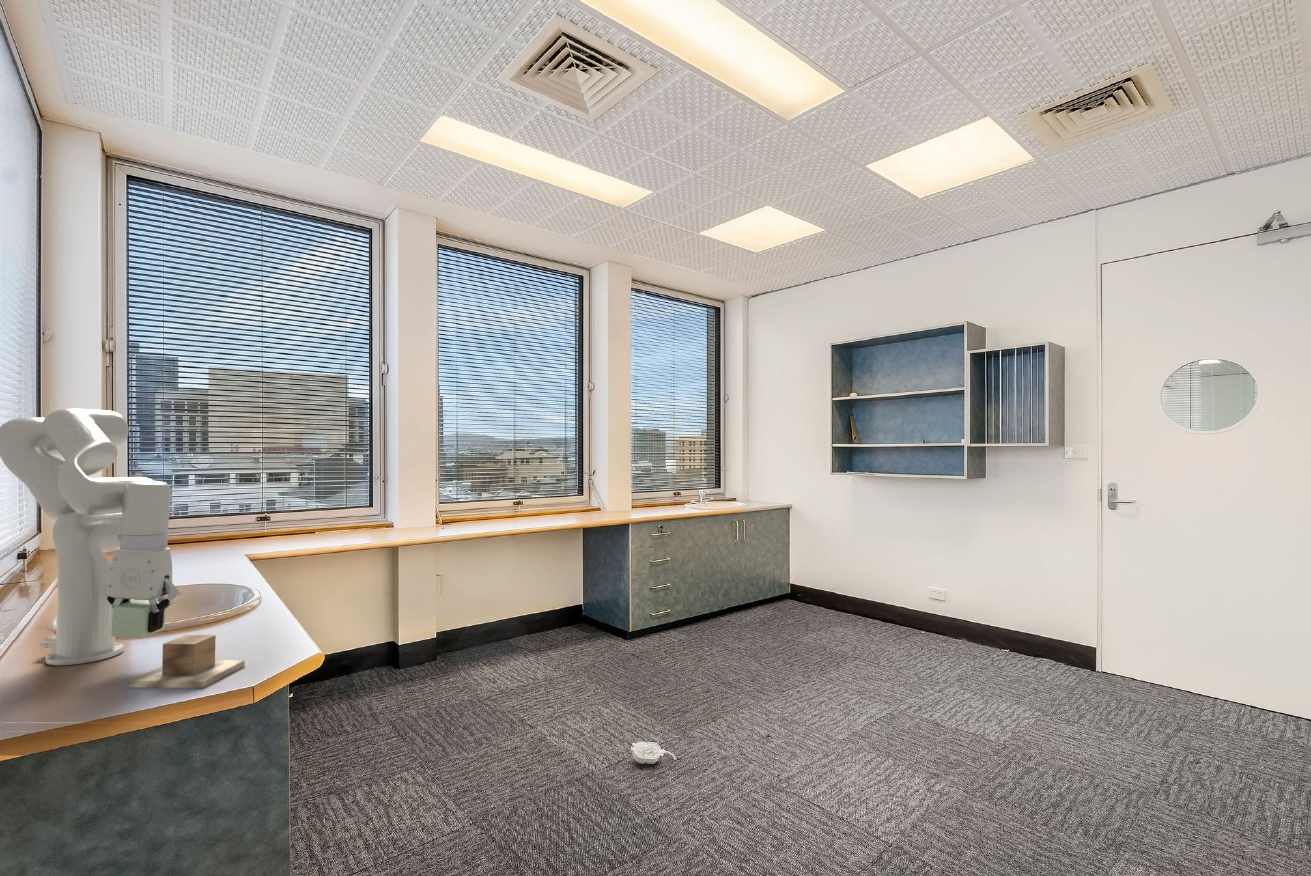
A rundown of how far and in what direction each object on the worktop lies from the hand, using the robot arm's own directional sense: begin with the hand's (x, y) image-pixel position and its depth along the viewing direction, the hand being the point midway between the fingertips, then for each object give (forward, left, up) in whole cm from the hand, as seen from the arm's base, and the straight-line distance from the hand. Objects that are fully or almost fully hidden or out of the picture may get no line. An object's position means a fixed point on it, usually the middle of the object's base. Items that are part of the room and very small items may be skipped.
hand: (138, 628), depth 129 cm
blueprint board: (+14, -5, -8) cm, 17 cm away
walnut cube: (+14, -5, -7) cm, 16 cm away
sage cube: (0, 0, -1) cm, 1 cm away
